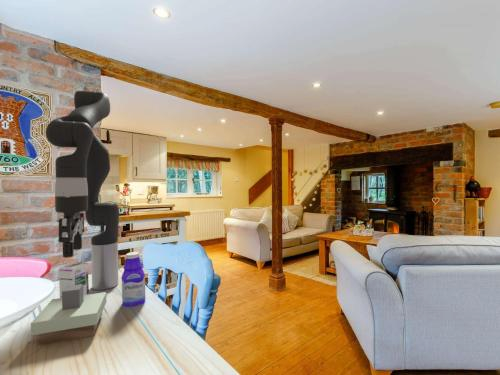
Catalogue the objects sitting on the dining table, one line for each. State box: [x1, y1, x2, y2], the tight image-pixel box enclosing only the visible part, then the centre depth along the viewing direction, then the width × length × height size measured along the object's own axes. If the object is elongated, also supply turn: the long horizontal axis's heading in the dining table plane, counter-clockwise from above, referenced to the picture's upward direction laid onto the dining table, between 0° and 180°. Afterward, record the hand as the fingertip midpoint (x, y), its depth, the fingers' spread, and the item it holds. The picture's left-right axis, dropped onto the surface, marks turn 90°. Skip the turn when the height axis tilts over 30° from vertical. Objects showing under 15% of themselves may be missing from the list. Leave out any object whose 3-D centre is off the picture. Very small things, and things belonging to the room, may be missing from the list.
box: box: [37, 312, 103, 346], centre depth 72 cm, size 12×12×6 cm
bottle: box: [120, 251, 146, 308], centre depth 87 cm, size 7×6×17 cm
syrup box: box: [58, 261, 90, 298], centre depth 85 cm, size 6×6×14 cm
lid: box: [30, 284, 107, 336], centre depth 72 cm, size 14×14×8 cm
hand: (73, 252), depth 72 cm, fingers open, 8 cm apart
